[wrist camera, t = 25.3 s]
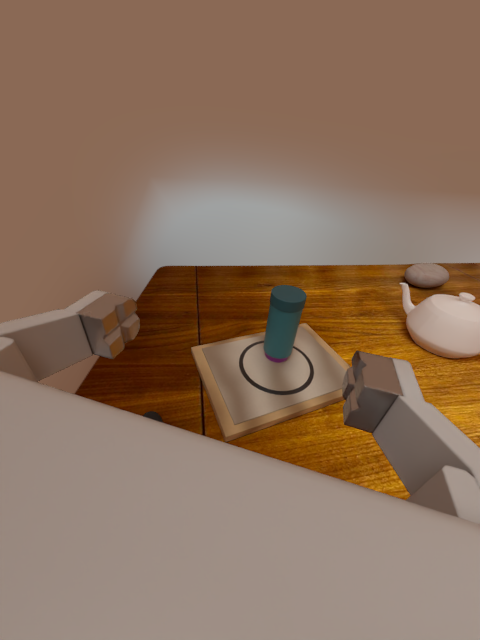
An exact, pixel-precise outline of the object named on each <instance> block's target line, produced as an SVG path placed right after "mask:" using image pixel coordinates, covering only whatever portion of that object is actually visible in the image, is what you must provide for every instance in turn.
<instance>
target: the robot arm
mask: <svg viewBox="0 0 480 640" xmlns="http://www.w3.org/2000/svg"><path fill="white" fill-rule="evenodd" d="M136 309H137V306H136V302H135V301H134V300H133V299H132V298H128V297H124V296H120V295H116V294H112V293H108V292H104V291H99V290H98V291H93V292H91V293H90V294H88V295H86V296H85V297H83V298H81V299H80V300H78V301H77V302H75V303H73V304H72V305H70V306H68V307H67V308H65V309H64V310H60V309H58V310H54V311H49V312H46V313H41V314H37V315H33V316H28V317H24V318H20V319H16V320H12V321H7V322H3V323H0V640H480V448H479V447H478V446H477V445H476V444H474V443H473V442H472V441H471V440H470V439H469V438H468V437H467V436H466V435H465V434H464V433H462V432H461V431H460V430H459V429H458V428H457V427H456V426H455V425H454V424H453V423H452V422H450V421H449V420H448V419H447V418H446V417H445V416H444V415H443V414H442V413H441V412H439V411H438V410H437V409H436V408H435V407H434V406H433V405H432V404H431V403H427V402H425V400H424V398H423V395H422V393H421V390H420V388H419V385H418V382H417V380H416V377H415V375H414V372H413V370H412V367H411V364H410V363H409V362H408V361H405V360H400V359H395V358H387V357H383V356H379V355H374V354H370V353H365V352H361V351H356V352H355V354H354V356H353V358H352V367H350V368H348V369H347V371H346V374H345V376H344V380H343V385H342V396H343V398H344V399H345V400H346V402H345V404H344V406H343V415H344V425H347V426H350V427H354V428H357V429H360V430H363V431H366V432H370V433H373V434H372V435H373V437H374V438H375V440H376V442H377V443H378V445H379V446H380V448H381V449H382V451H383V453H384V454H385V456H386V457H387V459H388V460H389V462H390V463H391V465H392V467H393V468H394V470H395V471H396V473H397V474H398V476H399V478H400V479H401V481H402V482H403V484H404V485H405V487H406V489H407V490H408V492H409V493H410V495H411V496H410V497H409V498H408V499H407V500H402V499H399V498H396V497H393V496H390V495H387V494H384V493H381V492H378V491H374V490H371V489H368V488H365V487H362V486H359V485H356V484H353V483H349V482H346V481H343V480H340V479H337V478H334V477H331V476H328V475H325V474H321V473H318V472H315V471H312V470H309V469H306V468H303V467H300V466H296V465H293V464H290V463H287V462H284V461H281V460H278V459H275V458H271V457H268V456H265V455H262V454H259V453H256V452H253V451H250V450H246V449H243V448H240V447H237V446H234V445H231V444H228V443H224V442H221V441H218V440H215V439H212V438H209V437H206V436H203V435H199V434H196V433H193V432H190V431H187V430H184V429H181V428H178V427H174V426H171V425H168V424H165V423H162V422H159V421H156V420H153V419H150V418H147V417H143V416H140V415H137V414H134V413H131V412H128V411H125V410H122V409H119V408H116V407H112V406H109V405H106V404H103V403H100V402H97V401H94V400H91V399H87V398H84V397H81V396H78V395H75V394H72V393H69V392H66V391H63V390H59V389H56V388H53V387H50V386H47V385H44V384H41V383H38V381H40V380H42V379H44V378H46V377H48V376H50V375H52V374H54V373H57V372H59V371H61V370H63V369H65V368H67V367H69V366H71V365H73V364H75V363H77V362H80V361H82V360H84V359H86V358H88V357H90V356H92V355H93V354H94V355H98V356H102V357H106V358H110V359H114V358H115V357H116V356H117V355H118V354H119V353H120V352H121V351H122V350H123V349H124V345H125V343H127V342H129V341H132V340H133V339H134V338H135V337H136V335H137V333H138V331H139V327H140V322H139V318H138V316H137V315H136V314H135V311H136Z"/></svg>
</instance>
